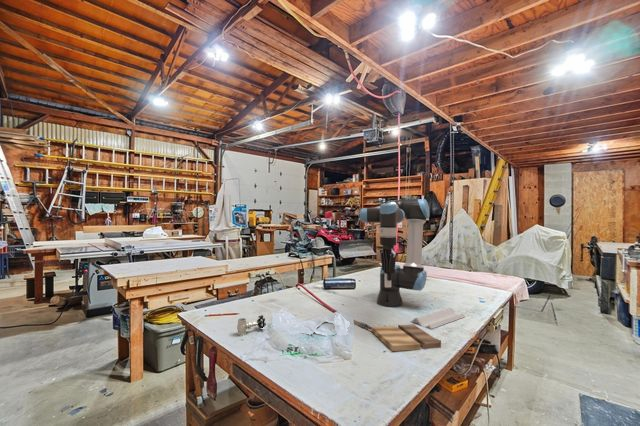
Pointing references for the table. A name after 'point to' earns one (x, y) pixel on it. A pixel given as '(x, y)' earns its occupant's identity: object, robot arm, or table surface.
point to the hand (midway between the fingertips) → (387, 286)
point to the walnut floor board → (420, 336)
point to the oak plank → (395, 338)
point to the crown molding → (437, 318)
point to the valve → (249, 325)
